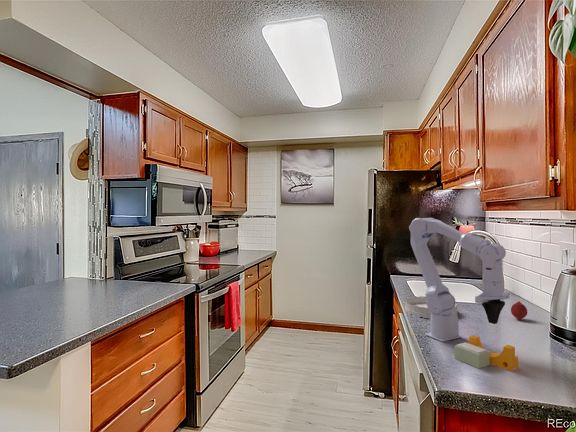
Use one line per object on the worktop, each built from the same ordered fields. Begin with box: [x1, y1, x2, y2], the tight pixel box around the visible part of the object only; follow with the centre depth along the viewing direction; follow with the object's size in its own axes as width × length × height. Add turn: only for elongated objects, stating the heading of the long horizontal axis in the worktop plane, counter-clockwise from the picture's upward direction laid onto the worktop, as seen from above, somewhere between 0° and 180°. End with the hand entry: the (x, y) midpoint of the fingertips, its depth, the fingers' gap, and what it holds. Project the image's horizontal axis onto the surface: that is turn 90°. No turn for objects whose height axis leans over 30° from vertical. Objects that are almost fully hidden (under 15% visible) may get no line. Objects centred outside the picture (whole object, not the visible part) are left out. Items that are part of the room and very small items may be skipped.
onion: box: [510, 299, 528, 321], centre depth 145 cm, size 6×6×8 cm
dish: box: [404, 296, 458, 320], centre depth 157 cm, size 22×22×5 cm
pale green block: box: [454, 342, 491, 369], centre depth 105 cm, size 5×8×4 cm, turn 26°
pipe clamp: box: [468, 335, 519, 372], centre depth 105 cm, size 12×4×6 cm, turn 34°
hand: (492, 322), depth 112 cm, fingers closed
